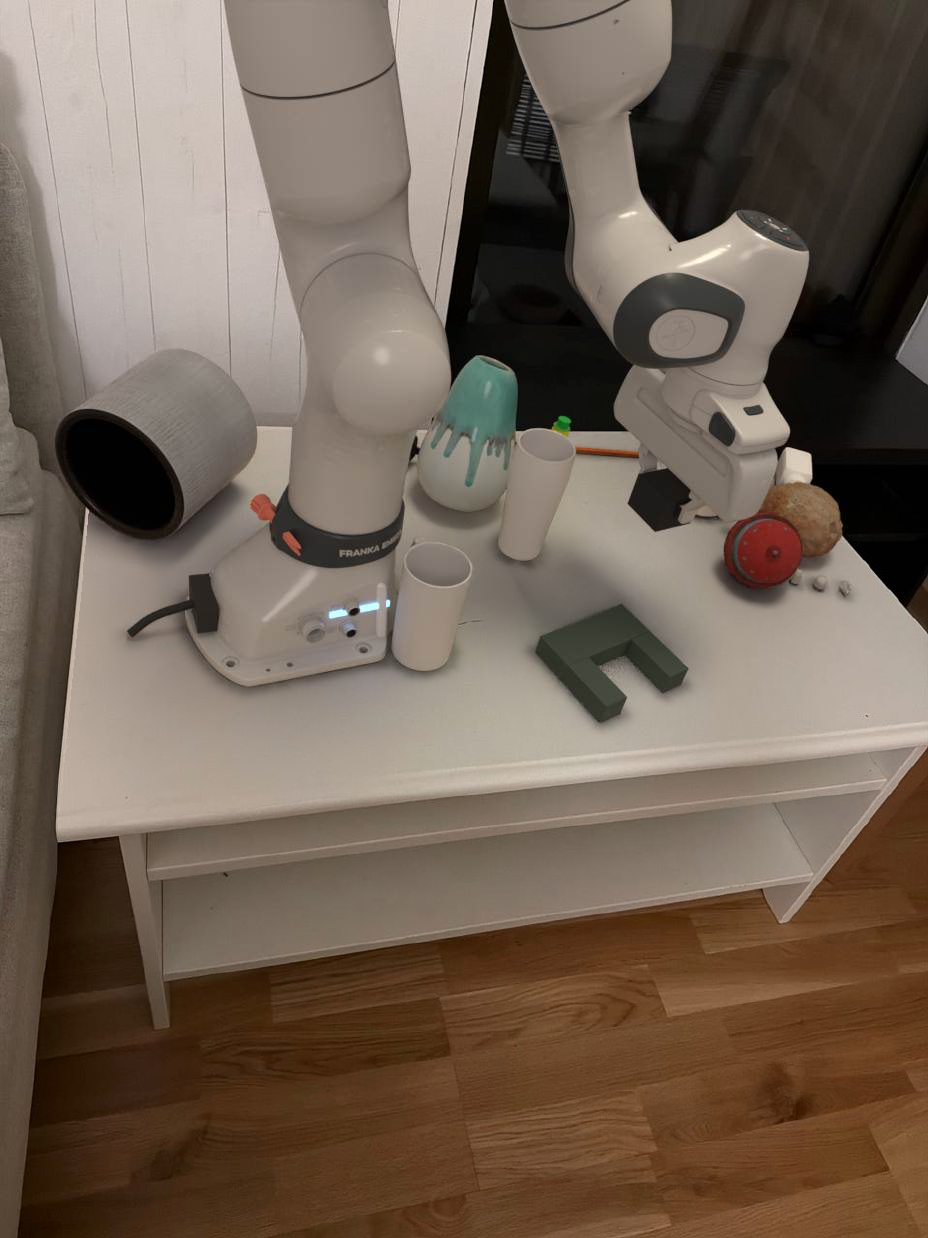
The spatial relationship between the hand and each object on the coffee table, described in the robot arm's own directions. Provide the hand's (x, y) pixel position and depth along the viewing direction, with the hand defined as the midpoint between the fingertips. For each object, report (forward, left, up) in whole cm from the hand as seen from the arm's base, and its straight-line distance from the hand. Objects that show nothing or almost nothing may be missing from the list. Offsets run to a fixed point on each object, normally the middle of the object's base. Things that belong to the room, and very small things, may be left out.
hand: (663, 501), depth 104 cm
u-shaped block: (-9, -7, -15) cm, 19 cm away
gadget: (+19, -2, -15) cm, 24 cm away
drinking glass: (-6, +13, -15) cm, 21 cm away
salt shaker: (+43, +11, -13) cm, 46 cm away
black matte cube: (0, 0, -2) cm, 2 cm away
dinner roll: (+25, -2, -8) cm, 26 cm away
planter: (-33, +41, -7) cm, 53 cm away
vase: (-8, +23, -14) cm, 29 cm away
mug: (-26, +5, -15) cm, 30 cm away
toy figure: (+2, +20, -15) cm, 25 cm away
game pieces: (+26, -9, -15) cm, 31 cm away
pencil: (+17, +26, -14) cm, 34 cm away
